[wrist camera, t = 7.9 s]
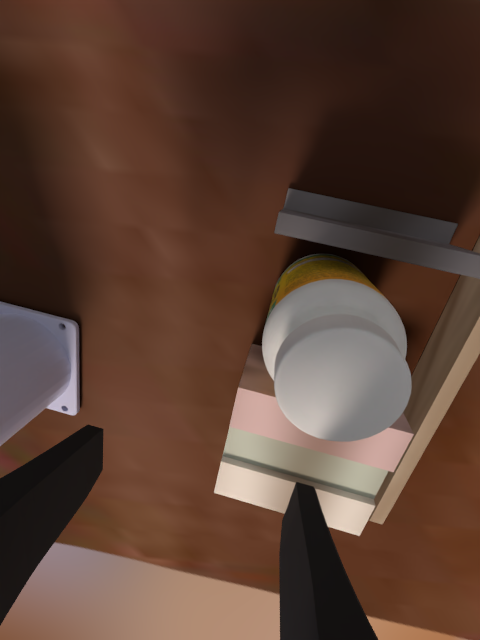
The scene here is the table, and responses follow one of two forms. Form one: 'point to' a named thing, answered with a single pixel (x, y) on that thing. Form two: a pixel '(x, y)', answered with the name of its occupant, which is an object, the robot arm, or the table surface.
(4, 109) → the table surface
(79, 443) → the robot arm
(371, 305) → the supplement bottle
